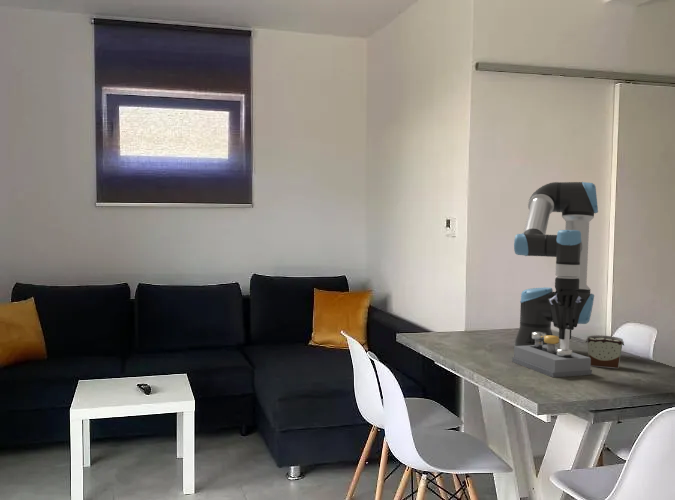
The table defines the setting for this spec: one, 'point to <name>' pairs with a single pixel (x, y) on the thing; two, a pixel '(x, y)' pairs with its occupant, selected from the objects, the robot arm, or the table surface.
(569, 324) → the robot arm
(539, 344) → the knob
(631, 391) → the table surface
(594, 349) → the food container
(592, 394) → the table surface
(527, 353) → the mount
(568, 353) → the knob
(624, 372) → the table surface
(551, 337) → the yellow round knob
